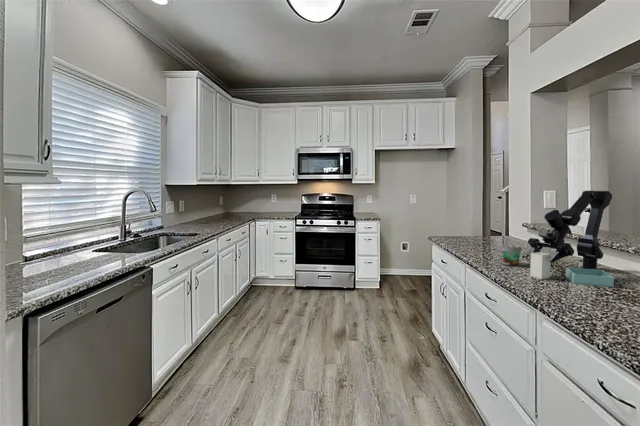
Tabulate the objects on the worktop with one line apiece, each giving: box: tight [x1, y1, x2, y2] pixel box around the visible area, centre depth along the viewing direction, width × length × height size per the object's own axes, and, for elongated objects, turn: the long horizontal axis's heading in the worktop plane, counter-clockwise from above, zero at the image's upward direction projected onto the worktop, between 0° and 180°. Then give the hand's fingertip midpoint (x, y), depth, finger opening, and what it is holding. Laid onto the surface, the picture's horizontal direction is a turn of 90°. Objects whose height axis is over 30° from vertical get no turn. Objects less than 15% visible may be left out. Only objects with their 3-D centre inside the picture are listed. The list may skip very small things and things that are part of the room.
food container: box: [502, 244, 523, 267], centre depth 183 cm, size 12×6×10 cm, turn 123°
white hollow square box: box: [529, 251, 552, 281], centre depth 159 cm, size 5×5×11 cm
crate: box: [565, 267, 615, 288], centre depth 152 cm, size 14×14×4 cm
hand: (540, 260), depth 158 cm, fingers open, 9 cm apart
